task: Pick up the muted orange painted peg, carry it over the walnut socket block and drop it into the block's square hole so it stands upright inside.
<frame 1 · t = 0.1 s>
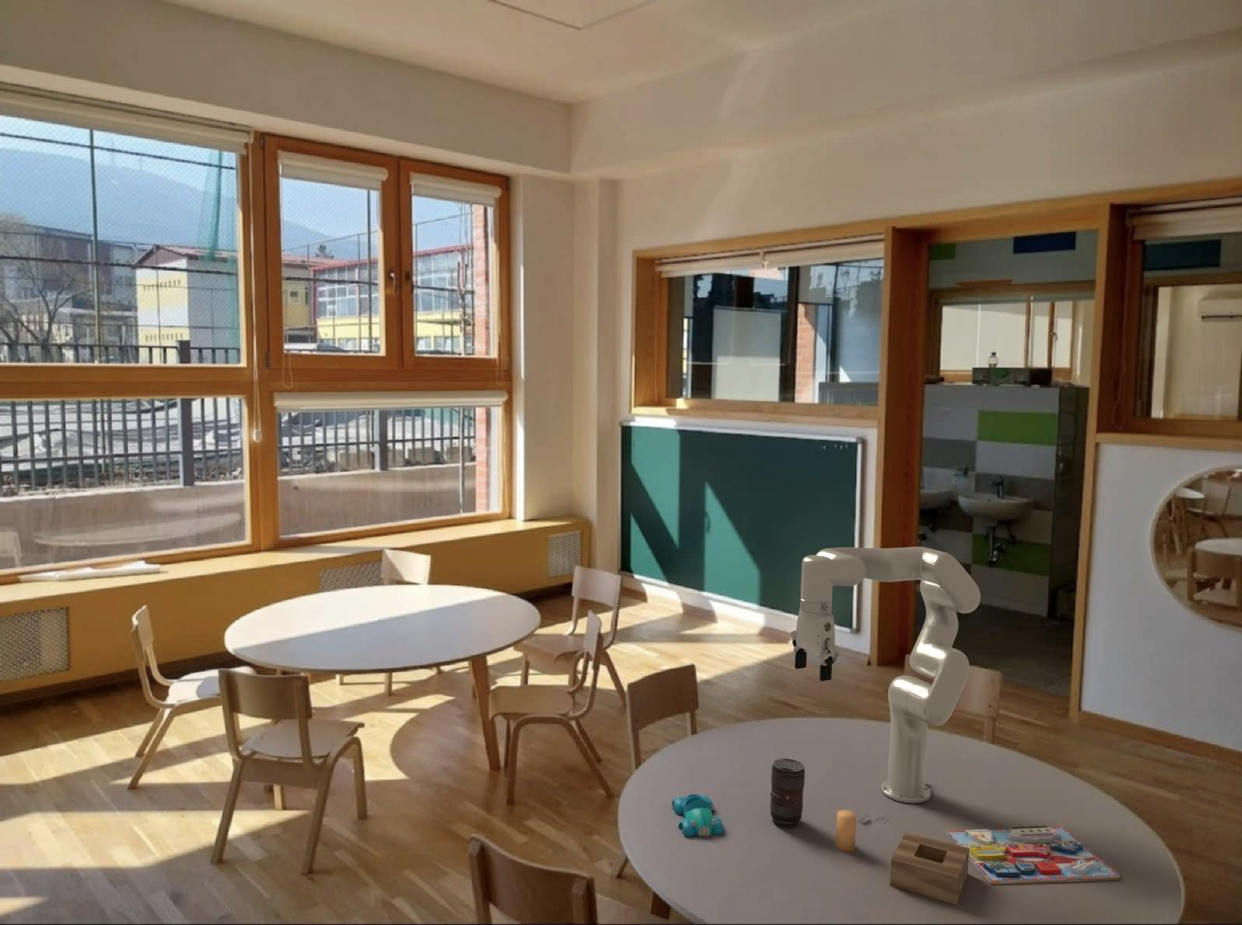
hand: (812, 673, 229), 37 cm above the table, tool pointing down, fingers open, 9 cm apart
puzzle board: (1028, 858, 217), on the table
peg: (845, 846, 219), on the table
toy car: (696, 820, 231), on the table
socket block: (929, 879, 206), on the table
camera lens: (786, 822, 230), on the table
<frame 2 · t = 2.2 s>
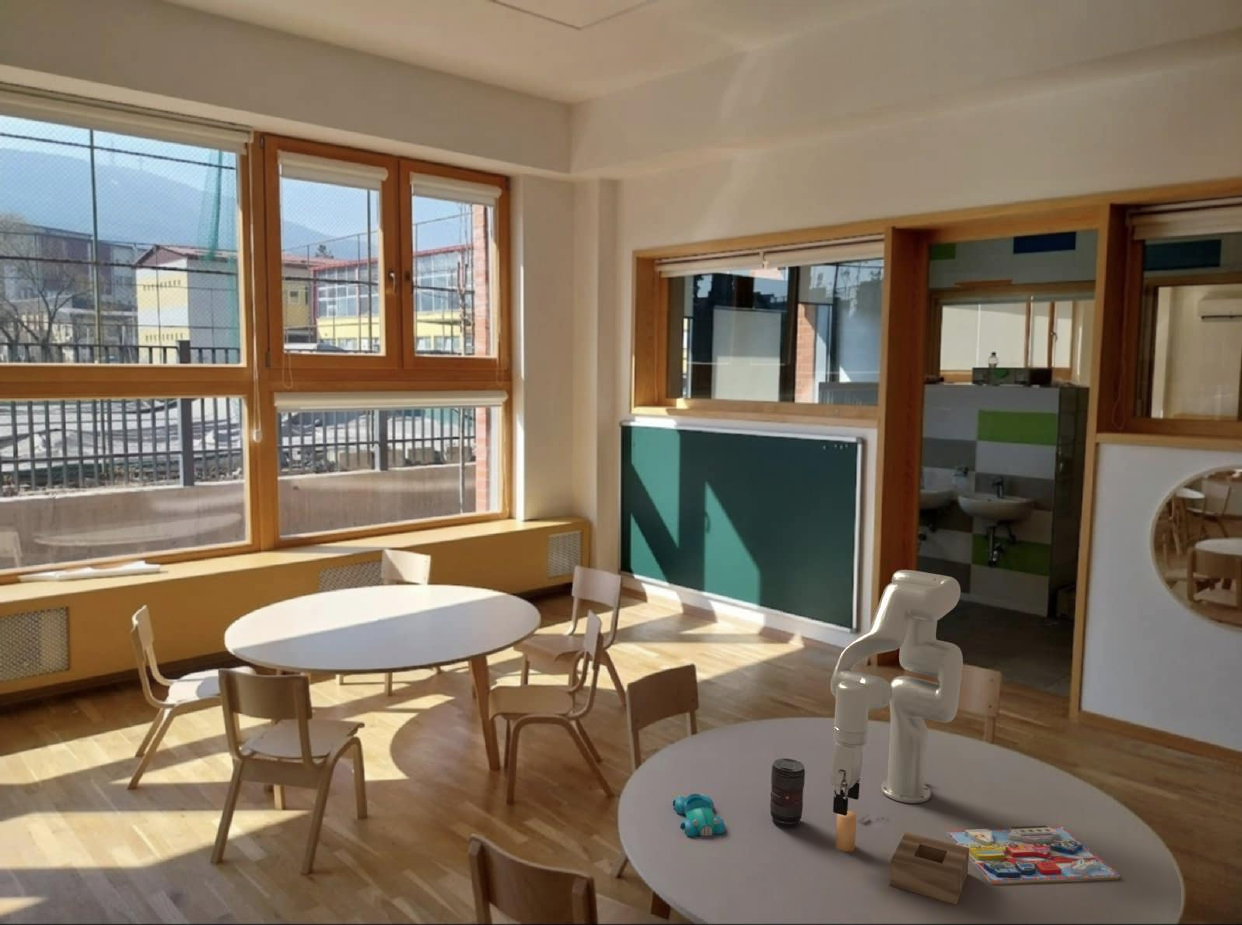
hand: (846, 805, 217), 10 cm above the table, tool pointing down, fingers open, 9 cm apart
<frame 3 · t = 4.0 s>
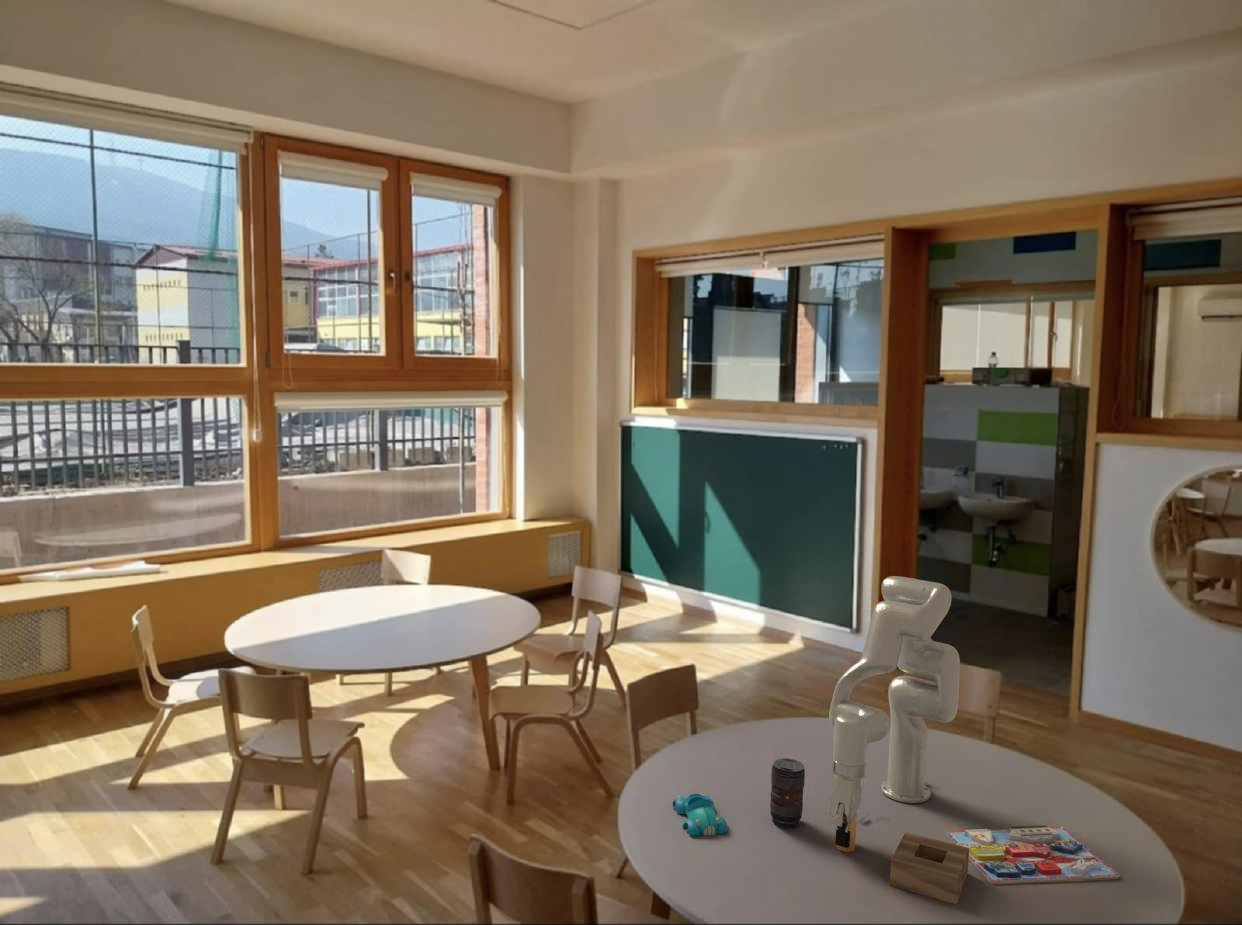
hand: (845, 840, 219), 2 cm above the table, tool pointing down, fingers closed on peg, 4 cm apart
peg: (845, 846, 219), on the table, touching gripper
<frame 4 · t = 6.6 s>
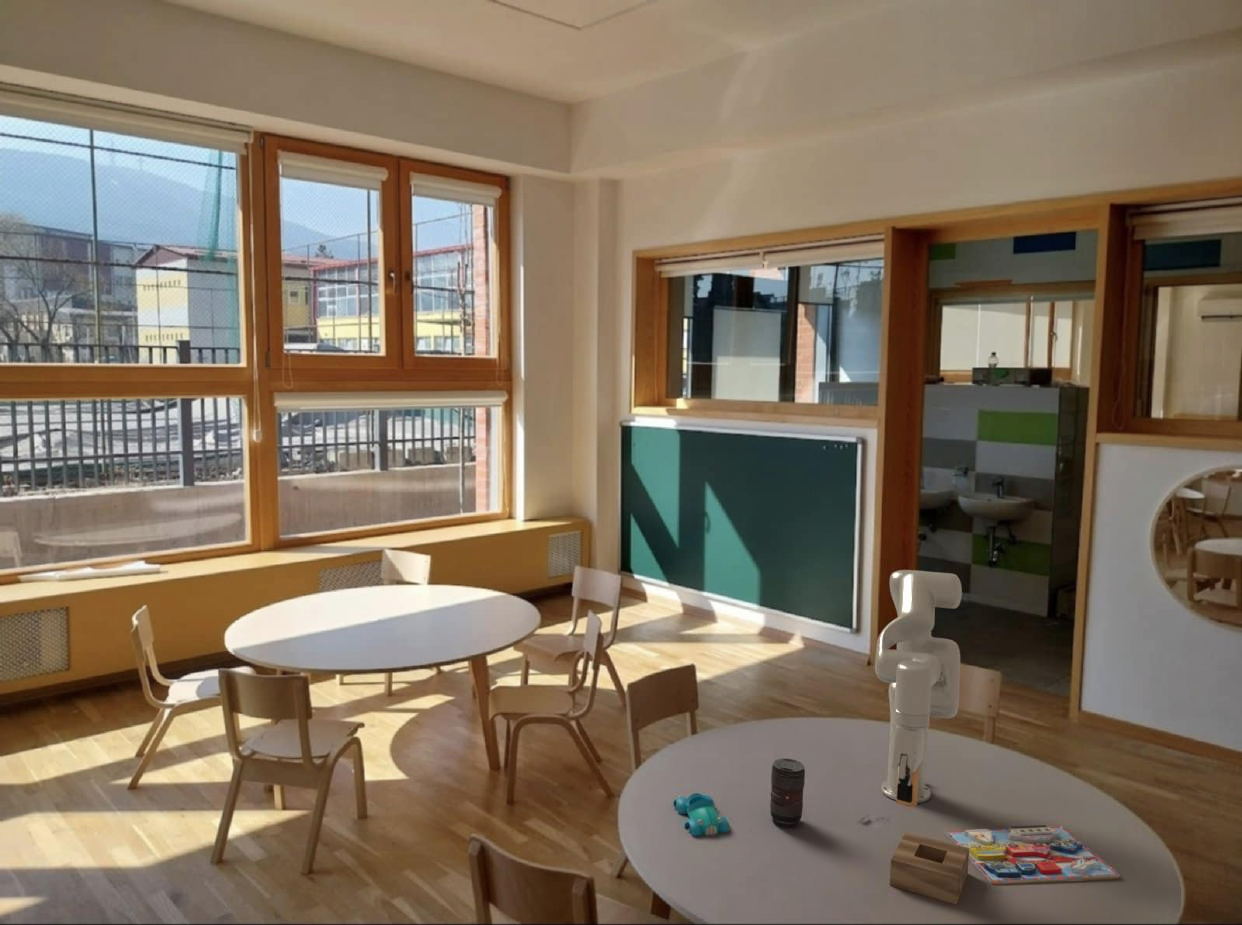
hand: (907, 795, 207), 18 cm above the table, tool pointing down, fingers closed on peg, 4 cm apart
peg: (906, 802, 208), point 16 cm above the table, touching gripper
when the fingers open (9 cm above the table, at t = 9.4 s): peg drops 7 cm, resting in socket block.
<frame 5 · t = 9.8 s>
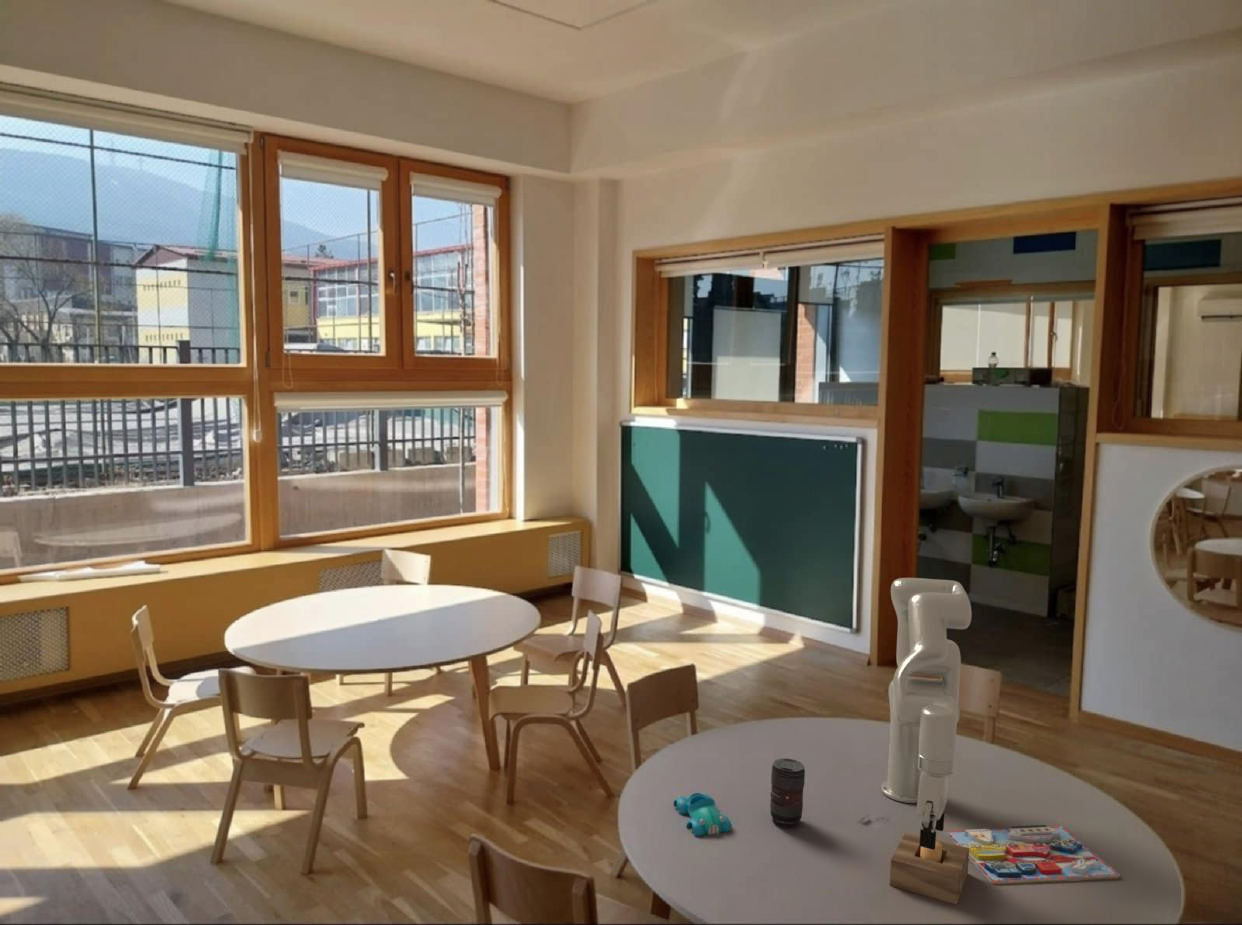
hand: (931, 837, 205), 10 cm above the table, tool pointing down, fingers open, 8 cm apart
peg: (929, 878, 206), resting in socket block
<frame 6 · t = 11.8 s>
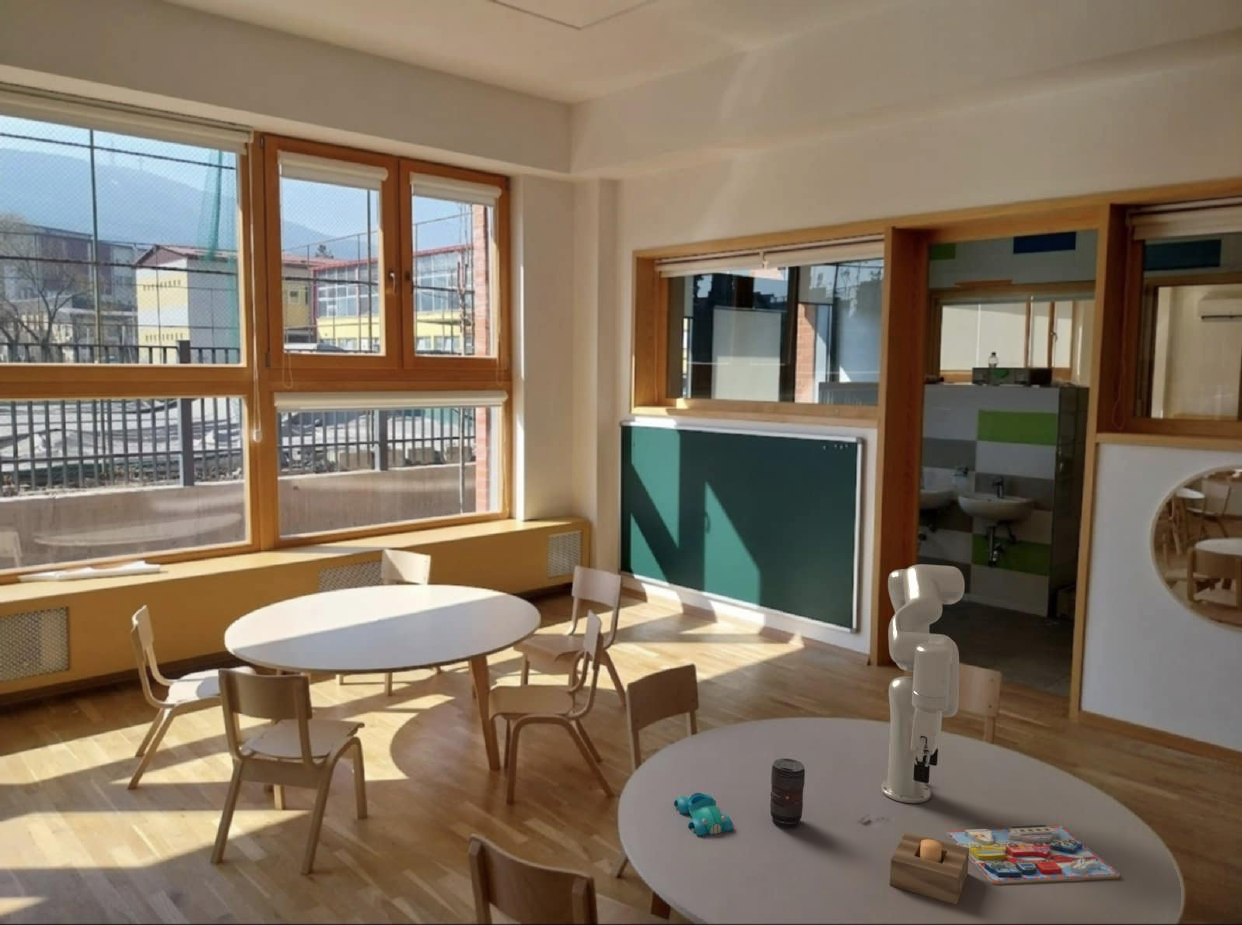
hand: (925, 772, 207), 23 cm above the table, tool pointing down, fingers open, 9 cm apart
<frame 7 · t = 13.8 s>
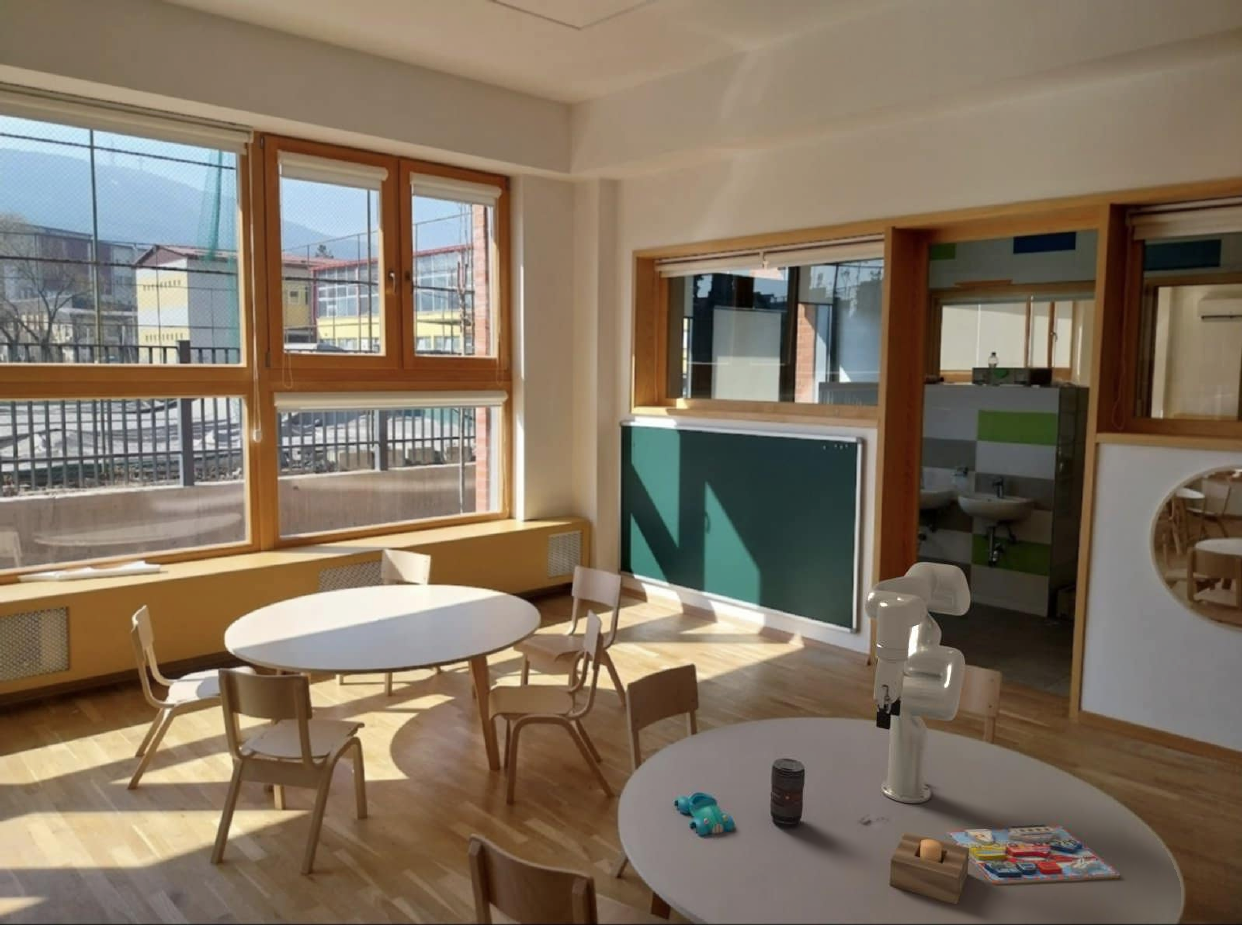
hand: (888, 721, 222), 28 cm above the table, tool pointing down, fingers open, 9 cm apart
at the end: peg 0.3 cm off-centre on the socket block, point 0.0 cm above the socket block's base; peg tilted 0°; the gripper is holding nothing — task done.
